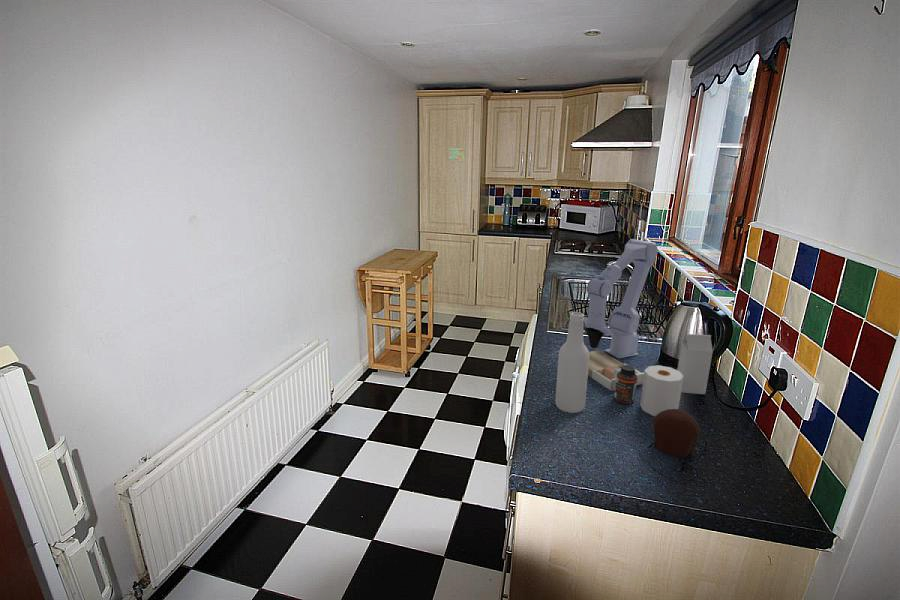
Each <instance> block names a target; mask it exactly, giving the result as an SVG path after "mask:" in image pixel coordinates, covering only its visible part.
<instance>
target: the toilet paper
mask: <svg viewBox="0 0 900 600" xmlns="http://www.w3.org/2000/svg"><path fill="white" fill-rule="evenodd" d="M643 373H644V379H643V384H642V388H641V395H640V402H639V403H640V404H639V406H640V407H641V409H642V411H643V412H645V413H647V414H649V415H650V416H653V417H655V416H656V415H657V414H659V413H660V412H662V411H664V410H667V409H678V410H679V408H680V402H681V401H680V400H681V395H682V392H681V389H682V383H683V377H684V376H683V375H682V374H681V373H680V371H677V369H675V368H673V367H670V366H663V365H658V364H657V365H650V366H647V367H646V368H645V369H644V372H643Z"/></svg>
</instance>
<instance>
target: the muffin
mask: <svg viewBox="0 0 900 600" xmlns="http://www.w3.org/2000/svg"><path fill="white" fill-rule="evenodd" d="M651 420H652V424H653V425H652V426H653V427H654V429H653V432H654V433H653V434H654V445H655V446H654V448H656V449H657V450H659V451H660V452H661V453H662V454H665V455H668V456H671V457H673V458H686V457H688V456H689V455H692V453H693V450H694V448H695V447H696V444H697V441H698V438H699V436H700V433H701V431H702V429H701V427H700V426H699V424H698V422H697V420H696V419H695V418H694V416H692V415H691V414H690V413H689V412H686V411H684V410H682V409H679V408H678V409H667V410H664V411H662V412H660V413H659V414H657V415H656V416H653V418H652V419H651Z"/></svg>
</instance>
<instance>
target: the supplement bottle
mask: <svg viewBox="0 0 900 600" xmlns="http://www.w3.org/2000/svg"><path fill="white" fill-rule="evenodd" d="M635 369H636V367H634V366H632V365H631V364H627V365H623V366H621V371H619V372H618V373H617V378H616V387H615V391H614V396H613V397H614V400H615V401H616V402H618V403H621V404H623V405H630V404H633V403H634V402H635V397H636V391H637V386H636V384H637V375H636V374H635Z"/></svg>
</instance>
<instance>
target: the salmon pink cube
mask: <svg viewBox="0 0 900 600" xmlns="http://www.w3.org/2000/svg"><path fill="white" fill-rule="evenodd" d="M614 369H619V368H618V367H616V366H611V367H606V368H604V376H605V377H607V378H608V379H610V380H611V379H613V376H614Z"/></svg>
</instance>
